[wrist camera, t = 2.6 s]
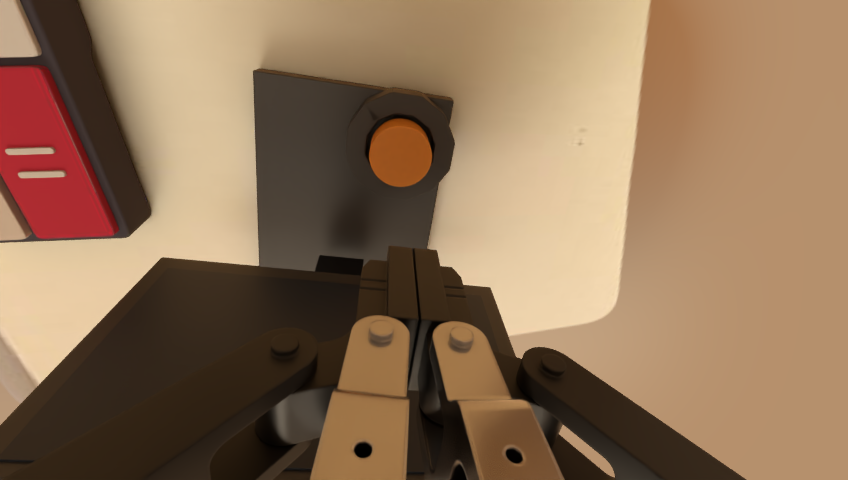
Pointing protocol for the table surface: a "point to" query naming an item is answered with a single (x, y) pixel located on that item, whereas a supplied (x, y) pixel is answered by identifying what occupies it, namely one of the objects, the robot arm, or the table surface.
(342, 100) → the monitor base
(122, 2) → the table surface
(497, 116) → the table surface
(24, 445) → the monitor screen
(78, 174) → the calculator
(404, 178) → the power button
